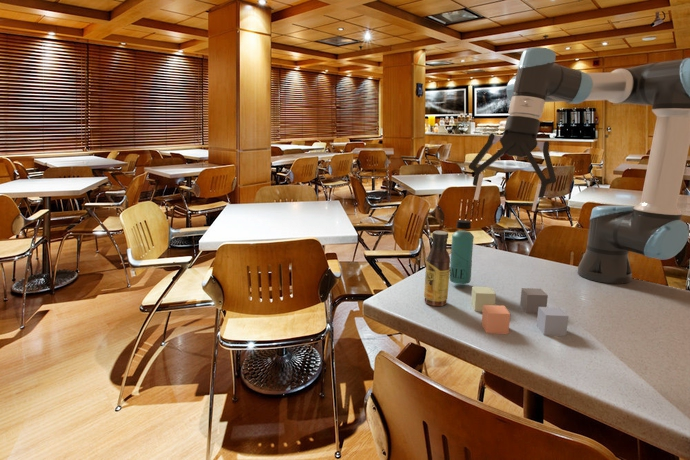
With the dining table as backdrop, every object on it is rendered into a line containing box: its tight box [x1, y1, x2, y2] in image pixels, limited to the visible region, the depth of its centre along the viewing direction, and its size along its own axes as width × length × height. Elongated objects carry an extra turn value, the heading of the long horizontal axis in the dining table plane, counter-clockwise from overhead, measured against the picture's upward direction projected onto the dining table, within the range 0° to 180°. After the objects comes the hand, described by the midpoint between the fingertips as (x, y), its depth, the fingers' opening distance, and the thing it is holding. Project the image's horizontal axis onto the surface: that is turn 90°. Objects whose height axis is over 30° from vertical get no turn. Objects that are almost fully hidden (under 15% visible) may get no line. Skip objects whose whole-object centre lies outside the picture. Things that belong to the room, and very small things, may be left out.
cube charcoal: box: [519, 287, 549, 314], centre depth 120 cm, size 5×5×5 cm
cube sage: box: [470, 286, 497, 312], centre depth 121 cm, size 5×5×5 cm
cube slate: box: [536, 306, 569, 337], centre depth 107 cm, size 5×5×5 cm
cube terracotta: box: [481, 304, 511, 335], centre depth 108 cm, size 5×5×5 cm
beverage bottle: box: [449, 219, 475, 285], centre depth 136 cm, size 6×7×20 cm
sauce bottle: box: [423, 230, 451, 307], centre depth 122 cm, size 7×6×20 cm
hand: (503, 205), depth 112 cm, fingers open, 13 cm apart
